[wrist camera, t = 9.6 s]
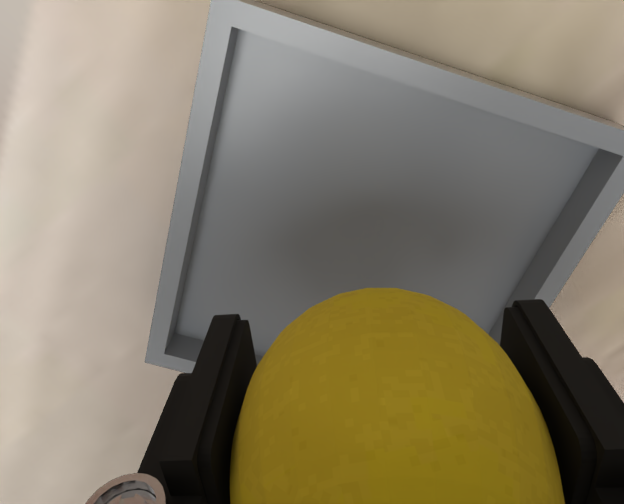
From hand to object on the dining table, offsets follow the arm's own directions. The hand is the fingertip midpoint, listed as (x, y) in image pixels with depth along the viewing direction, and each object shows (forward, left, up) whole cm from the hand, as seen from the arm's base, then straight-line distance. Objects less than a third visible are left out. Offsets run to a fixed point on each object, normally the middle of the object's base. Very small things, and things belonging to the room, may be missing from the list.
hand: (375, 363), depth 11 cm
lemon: (0, 0, -2) cm, 2 cm away
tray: (0, 0, -7) cm, 7 cm away
